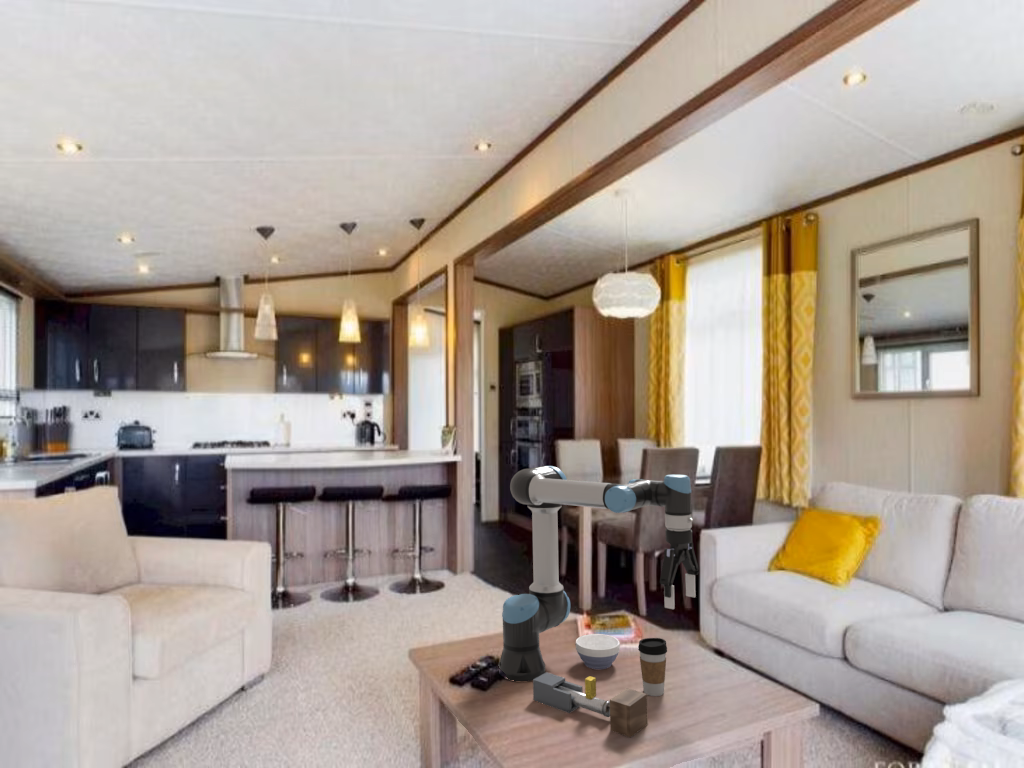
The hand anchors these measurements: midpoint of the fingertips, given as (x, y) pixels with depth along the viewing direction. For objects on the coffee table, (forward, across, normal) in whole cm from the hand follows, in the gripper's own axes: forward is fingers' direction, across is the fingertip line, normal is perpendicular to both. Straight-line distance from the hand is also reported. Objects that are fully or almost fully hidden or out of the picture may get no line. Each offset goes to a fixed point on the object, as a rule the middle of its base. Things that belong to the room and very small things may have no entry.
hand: (680, 602), depth 191 cm
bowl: (+28, +7, +33) cm, 44 cm away
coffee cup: (+28, 0, +9) cm, 30 cm away
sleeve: (+28, -23, +27) cm, 45 cm away
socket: (+28, -23, +5) cm, 37 cm away
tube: (+28, -23, +21) cm, 42 cm away
